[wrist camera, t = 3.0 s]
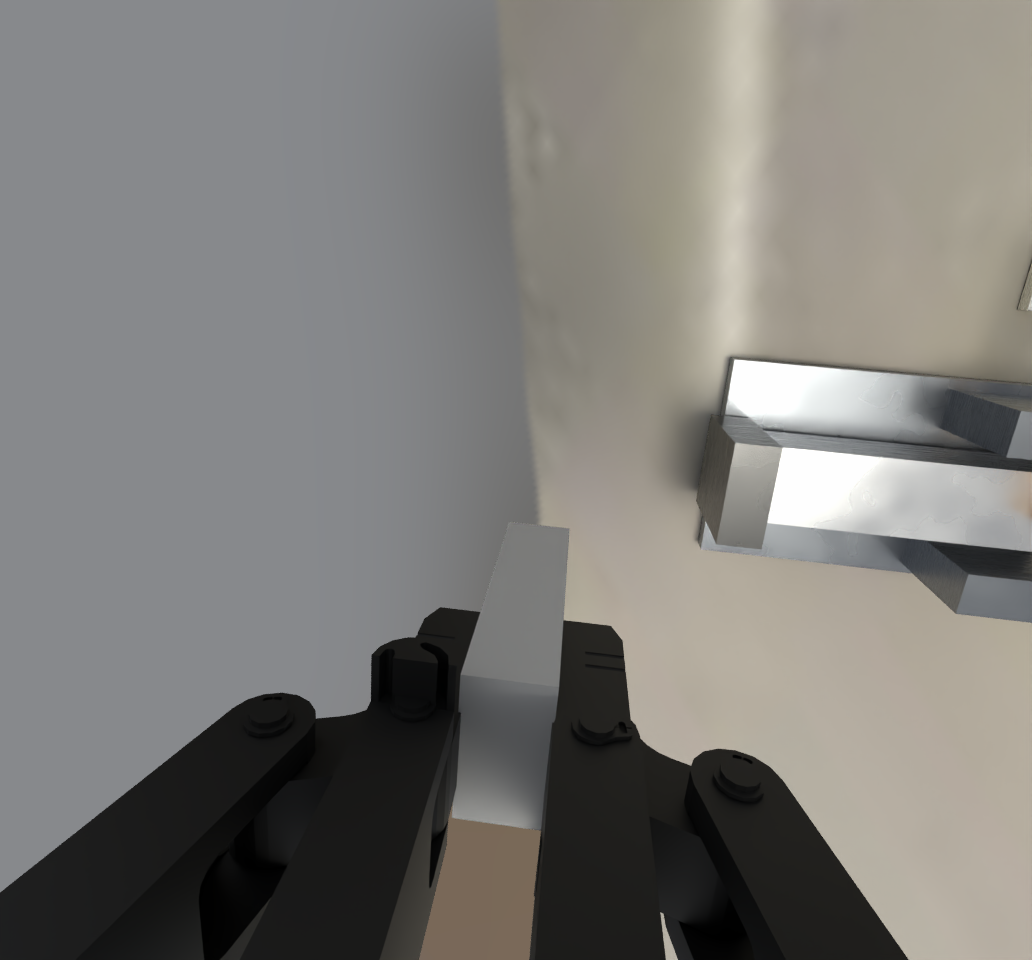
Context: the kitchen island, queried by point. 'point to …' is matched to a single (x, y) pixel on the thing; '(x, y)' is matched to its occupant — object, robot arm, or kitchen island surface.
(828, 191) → the kitchen island surface
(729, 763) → the robot arm
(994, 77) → the kitchen island surface
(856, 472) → the gauge slider with pointer
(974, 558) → the gauge housing
